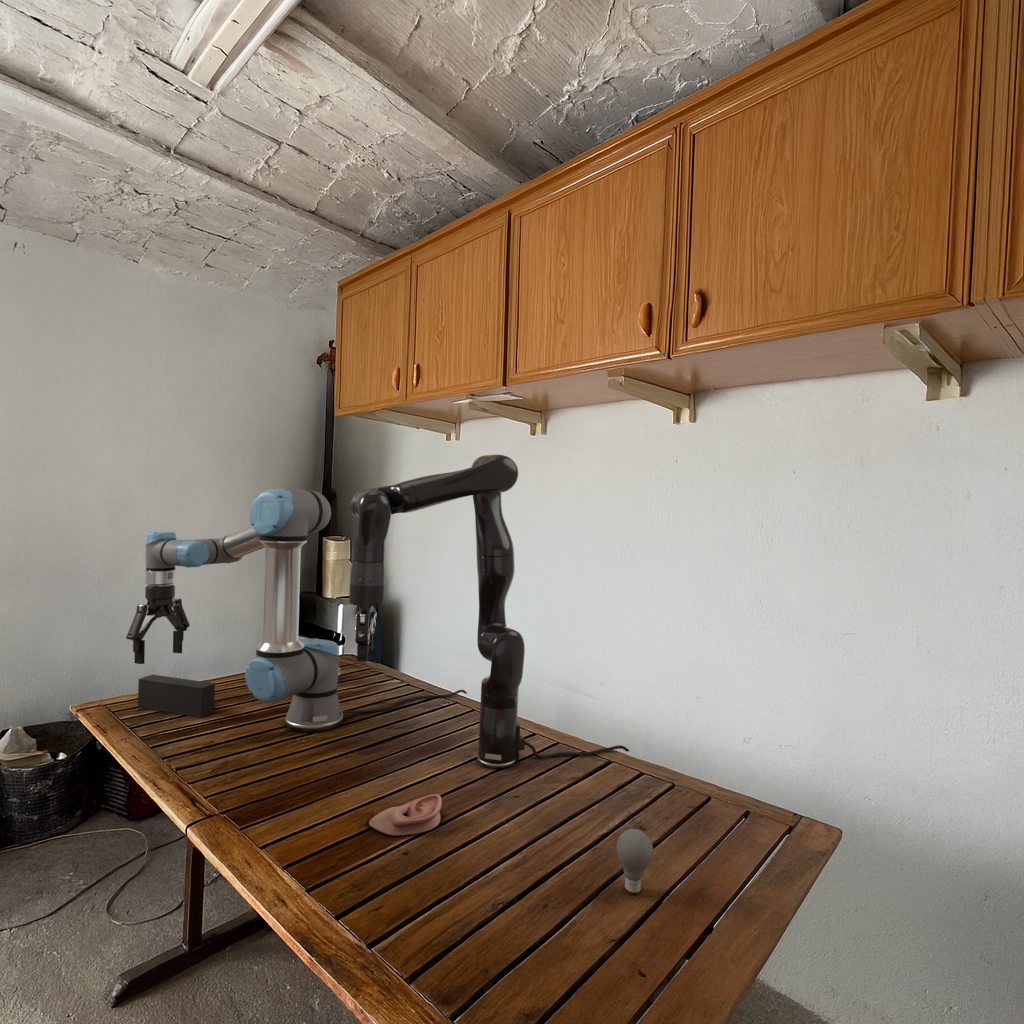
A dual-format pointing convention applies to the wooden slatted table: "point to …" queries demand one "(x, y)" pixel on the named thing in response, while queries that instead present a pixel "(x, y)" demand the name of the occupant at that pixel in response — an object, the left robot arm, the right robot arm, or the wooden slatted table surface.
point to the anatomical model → (409, 817)
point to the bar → (176, 695)
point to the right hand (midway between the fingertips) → (364, 656)
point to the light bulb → (634, 857)
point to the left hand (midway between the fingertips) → (159, 658)
